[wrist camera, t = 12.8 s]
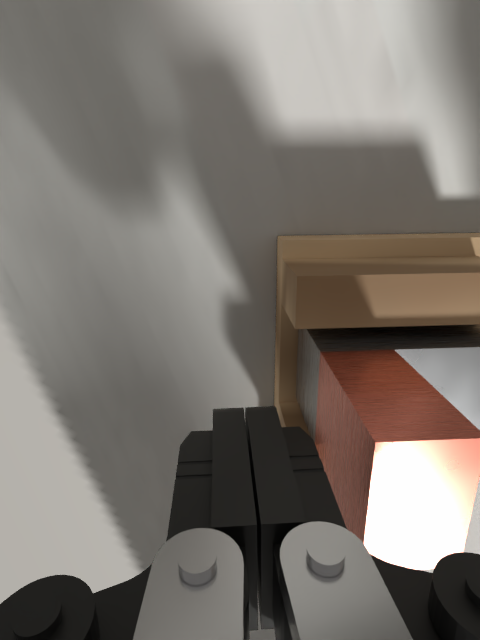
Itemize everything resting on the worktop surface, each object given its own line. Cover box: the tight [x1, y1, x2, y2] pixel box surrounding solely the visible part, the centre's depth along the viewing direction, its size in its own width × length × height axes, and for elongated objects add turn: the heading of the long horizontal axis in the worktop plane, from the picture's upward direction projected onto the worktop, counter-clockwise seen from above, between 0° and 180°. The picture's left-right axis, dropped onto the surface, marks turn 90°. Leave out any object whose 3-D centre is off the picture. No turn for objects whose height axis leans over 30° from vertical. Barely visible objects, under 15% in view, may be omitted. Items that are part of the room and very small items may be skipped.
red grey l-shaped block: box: [296, 324, 480, 570], centre depth 11 cm, size 3×6×7 cm, turn 90°
